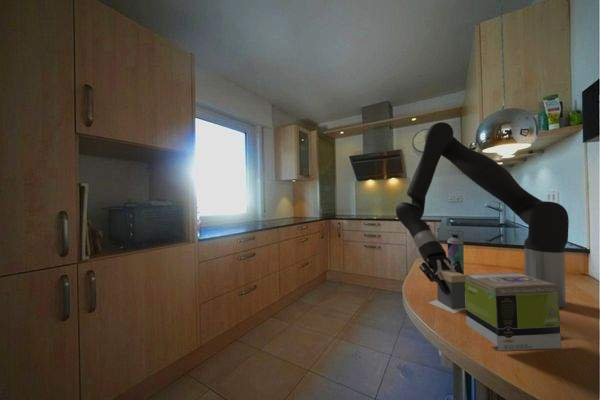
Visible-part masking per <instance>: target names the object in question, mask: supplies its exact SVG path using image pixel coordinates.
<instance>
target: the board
mask: <svg viewBox="0 0 600 400" xmlns="http://www.w3.org/2000/svg"><path fill="white" fill-rule="evenodd" d="M427 304H430V305H433V306H435V307H437V308H439V309H442V310H445V311H447V312H450V313H452V314H456V313H459V312H462V311H464V310H466V297H465V308H459V309H451V308H449V307H448V306H446V305H444V304H443V303H441V302H439V301H438V299H435V300H432V301H429V302H427Z"/></svg>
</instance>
